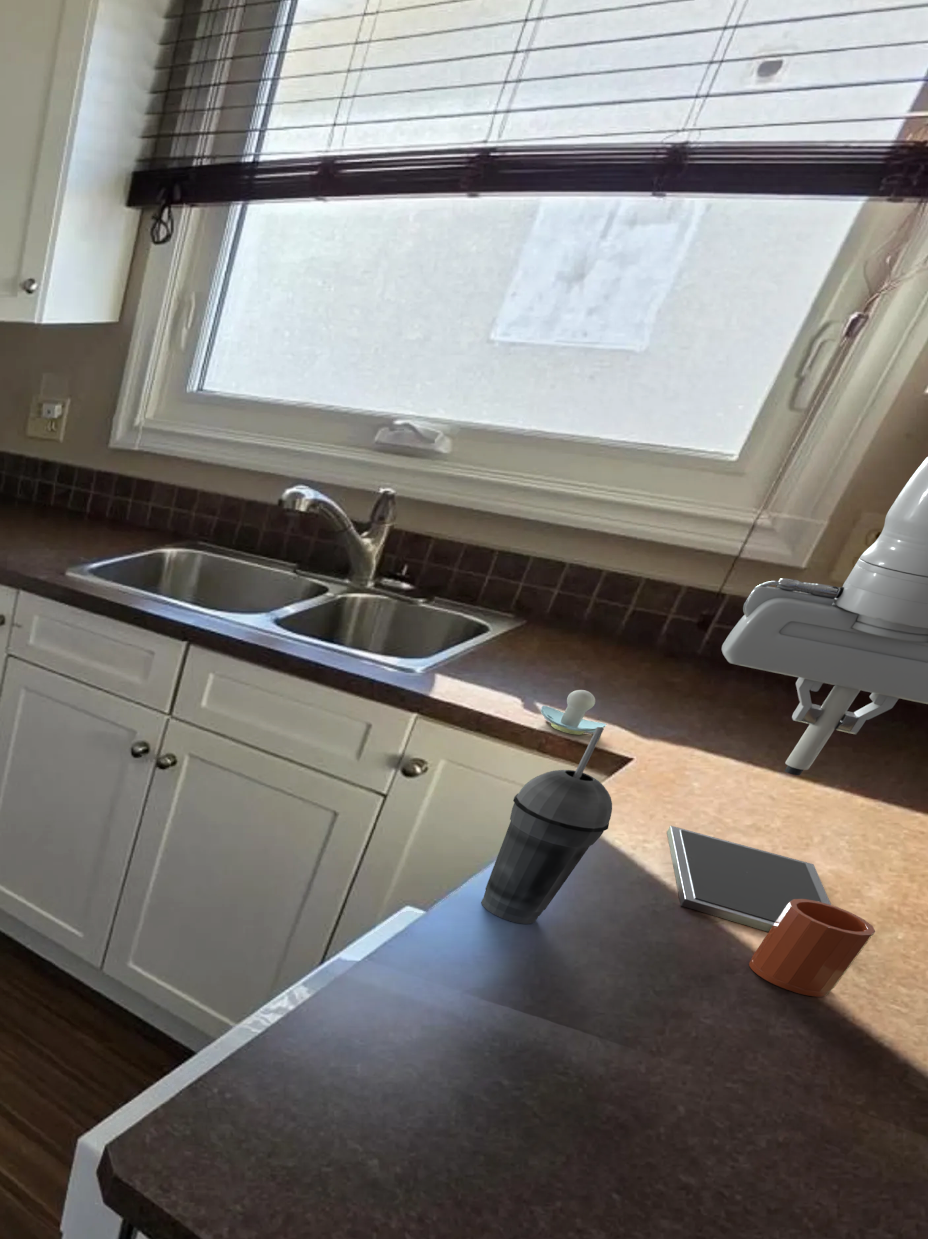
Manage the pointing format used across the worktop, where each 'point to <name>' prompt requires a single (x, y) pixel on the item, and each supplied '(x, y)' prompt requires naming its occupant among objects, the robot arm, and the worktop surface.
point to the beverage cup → (546, 839)
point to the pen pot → (810, 947)
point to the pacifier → (573, 714)
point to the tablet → (739, 879)
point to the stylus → (820, 729)
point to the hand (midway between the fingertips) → (823, 725)
